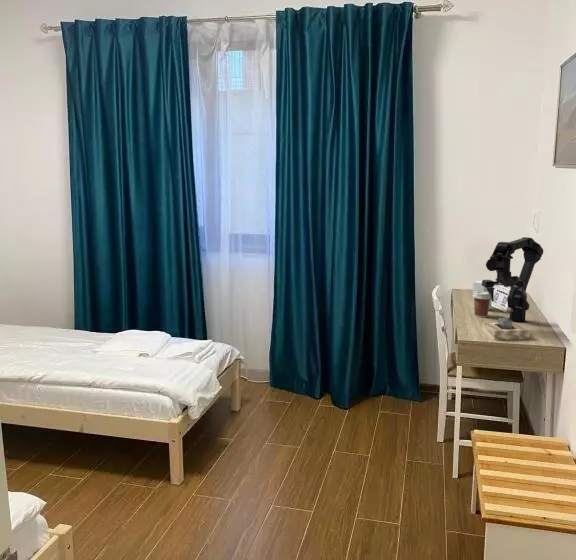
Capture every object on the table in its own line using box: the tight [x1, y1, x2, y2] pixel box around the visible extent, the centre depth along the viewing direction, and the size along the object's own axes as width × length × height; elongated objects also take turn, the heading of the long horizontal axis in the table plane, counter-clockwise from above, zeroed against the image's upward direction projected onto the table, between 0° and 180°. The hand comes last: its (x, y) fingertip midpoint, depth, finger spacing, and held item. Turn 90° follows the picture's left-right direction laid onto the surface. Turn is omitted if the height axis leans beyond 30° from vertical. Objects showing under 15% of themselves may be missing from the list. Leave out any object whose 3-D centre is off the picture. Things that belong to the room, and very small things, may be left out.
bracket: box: [497, 317, 513, 330], centre depth 276 cm, size 4×8×7 cm, turn 3°
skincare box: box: [472, 280, 492, 311], centre depth 327 cm, size 8×6×15 cm
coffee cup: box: [472, 292, 491, 318], centre depth 312 cm, size 9×9×12 cm
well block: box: [481, 321, 531, 341], centre depth 276 cm, size 16×14×4 cm
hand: (501, 301), depth 292 cm, fingers open, 9 cm apart
